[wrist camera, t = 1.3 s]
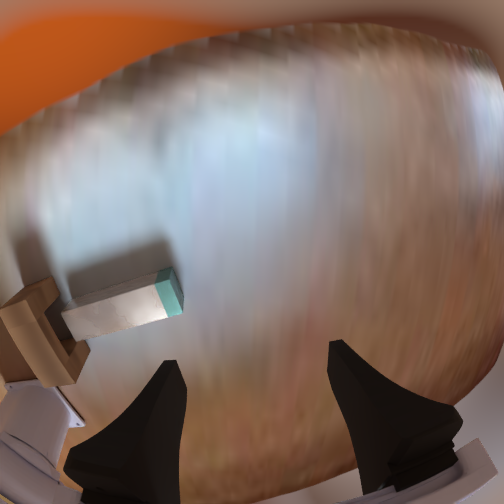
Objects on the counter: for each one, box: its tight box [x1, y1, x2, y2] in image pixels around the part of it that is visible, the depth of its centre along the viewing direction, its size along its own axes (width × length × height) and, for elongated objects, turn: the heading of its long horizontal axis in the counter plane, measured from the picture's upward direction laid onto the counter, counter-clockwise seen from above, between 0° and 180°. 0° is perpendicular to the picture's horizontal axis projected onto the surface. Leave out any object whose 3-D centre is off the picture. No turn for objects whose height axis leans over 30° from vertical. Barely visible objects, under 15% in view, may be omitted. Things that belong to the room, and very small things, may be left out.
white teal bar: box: [61, 267, 184, 342], centre depth 21 cm, size 10×3×3 cm, turn 105°
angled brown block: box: [0, 276, 91, 388], centre depth 19 cm, size 4×8×5 cm, turn 15°
